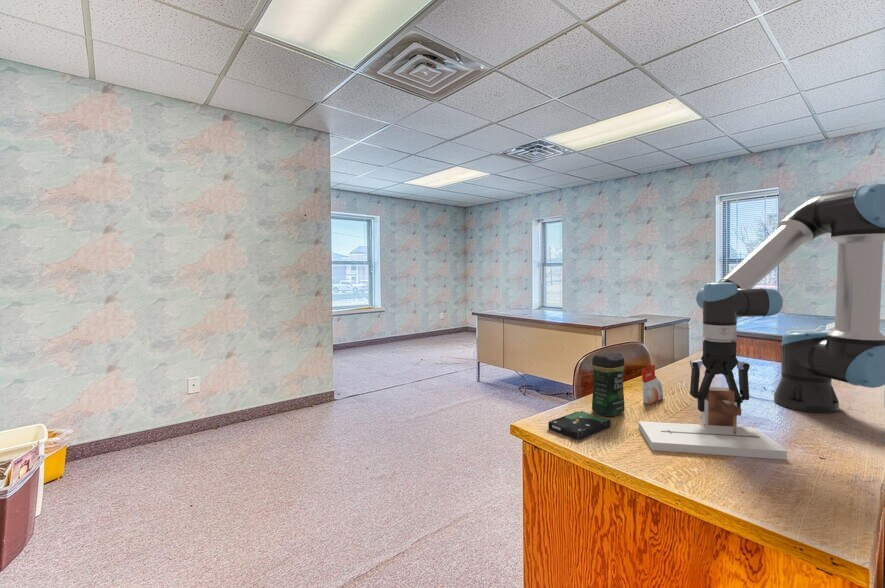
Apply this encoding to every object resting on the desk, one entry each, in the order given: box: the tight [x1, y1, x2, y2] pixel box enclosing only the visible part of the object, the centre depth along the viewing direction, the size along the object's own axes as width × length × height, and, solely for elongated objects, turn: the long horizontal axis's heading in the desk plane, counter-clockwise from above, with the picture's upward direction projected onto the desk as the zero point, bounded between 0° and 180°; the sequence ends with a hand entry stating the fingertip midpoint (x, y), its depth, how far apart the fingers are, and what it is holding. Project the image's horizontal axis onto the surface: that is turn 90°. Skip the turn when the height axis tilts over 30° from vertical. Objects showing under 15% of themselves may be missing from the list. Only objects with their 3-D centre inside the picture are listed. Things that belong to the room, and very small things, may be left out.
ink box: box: [641, 364, 664, 405], centre depth 134 cm, size 3×9×12 cm, turn 128°
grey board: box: [638, 420, 788, 461], centre depth 101 cm, size 28×14×2 cm, turn 76°
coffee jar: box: [591, 351, 626, 417], centre depth 124 cm, size 10×8×19 cm
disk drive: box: [548, 410, 612, 442], centre depth 113 cm, size 10×3×15 cm
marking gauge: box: [703, 386, 742, 434], centre depth 105 cm, size 6×14×11 cm, turn 166°
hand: (718, 423), depth 109 cm, fingers closed on marking gauge, 6 cm apart
